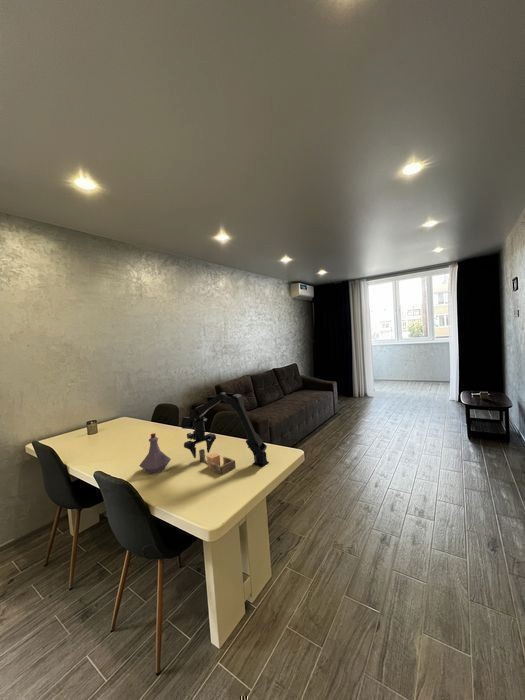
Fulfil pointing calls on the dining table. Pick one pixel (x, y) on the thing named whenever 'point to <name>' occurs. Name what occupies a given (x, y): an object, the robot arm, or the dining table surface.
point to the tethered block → (209, 458)
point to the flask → (154, 458)
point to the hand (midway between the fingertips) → (201, 455)
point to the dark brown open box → (227, 466)
